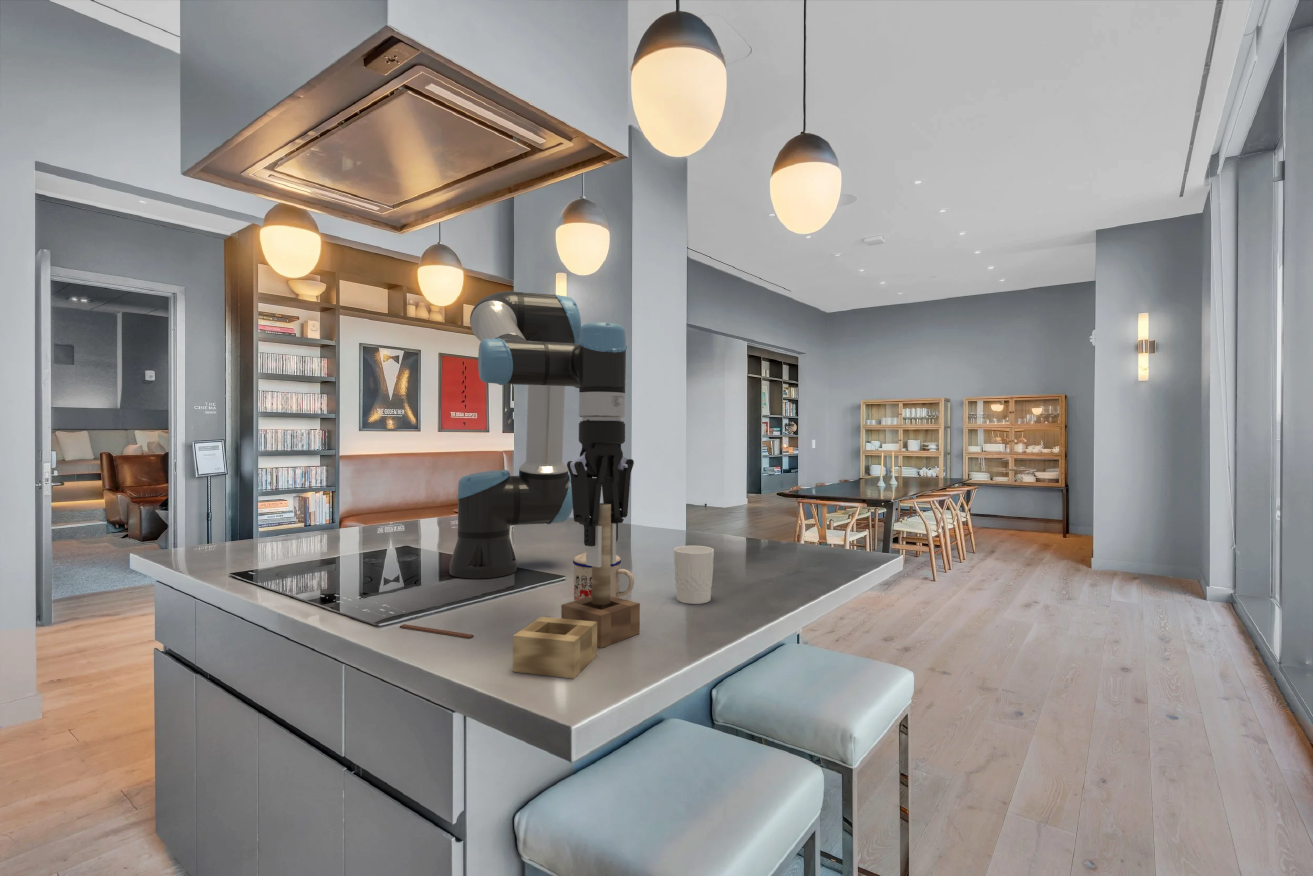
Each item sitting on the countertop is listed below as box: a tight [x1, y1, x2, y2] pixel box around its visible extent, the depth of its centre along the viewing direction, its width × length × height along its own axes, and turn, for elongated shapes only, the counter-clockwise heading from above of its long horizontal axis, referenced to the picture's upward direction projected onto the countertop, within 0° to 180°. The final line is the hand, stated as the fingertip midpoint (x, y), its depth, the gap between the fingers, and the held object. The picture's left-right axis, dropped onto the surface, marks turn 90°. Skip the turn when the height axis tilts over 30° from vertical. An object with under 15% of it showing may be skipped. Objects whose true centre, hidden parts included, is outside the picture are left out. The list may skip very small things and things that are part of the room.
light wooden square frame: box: [512, 616, 598, 680], centre depth 89 cm, size 9×9×5 cm
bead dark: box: [560, 596, 641, 649], centre depth 102 cm, size 9×9×5 cm
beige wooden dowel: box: [592, 502, 611, 605], centre depth 102 cm, size 3×3×16 cm
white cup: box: [673, 545, 715, 605], centre depth 123 cm, size 8×8×10 cm
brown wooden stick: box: [399, 623, 475, 639], centre depth 103 cm, size 14×1×1 cm, turn 69°
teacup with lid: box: [572, 551, 635, 601], centre depth 118 cm, size 12×9×12 cm
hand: (601, 563), depth 102 cm, fingers closed on beige wooden dowel, 3 cm apart
